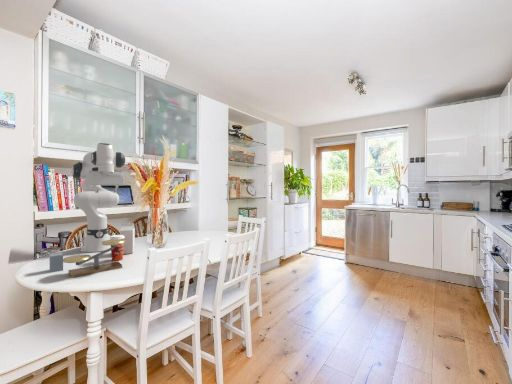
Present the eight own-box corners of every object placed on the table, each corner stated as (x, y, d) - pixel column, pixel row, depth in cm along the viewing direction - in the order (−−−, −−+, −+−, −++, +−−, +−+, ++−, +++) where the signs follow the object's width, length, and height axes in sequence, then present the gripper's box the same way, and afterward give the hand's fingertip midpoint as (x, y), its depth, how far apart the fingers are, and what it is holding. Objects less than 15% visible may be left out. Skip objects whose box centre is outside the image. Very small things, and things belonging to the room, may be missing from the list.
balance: (61, 273, 122) (61, 245, 122) (122, 262, 141) (122, 238, 140) (64, 280, 114) (64, 250, 114) (128, 267, 133) (128, 241, 132)
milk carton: (132, 253, 158) (132, 224, 158) (120, 254, 156) (120, 224, 156) (134, 250, 165) (134, 222, 164) (122, 251, 163) (123, 222, 162)
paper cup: (118, 262, 141) (118, 237, 141) (106, 260, 143) (106, 236, 142) (127, 258, 149) (128, 234, 148) (116, 257, 150) (116, 234, 150)
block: (49, 269, 127) (49, 254, 126) (62, 267, 130) (61, 252, 130) (50, 272, 123) (50, 256, 123) (63, 270, 126) (63, 254, 126)
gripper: (123, 171, 158) (123, 193, 158) (84, 169, 144) (84, 193, 144) (126, 170, 154) (126, 192, 153) (86, 168, 140) (86, 192, 139)
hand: (106, 192), depth 148 cm, fingers open, 8 cm apart
